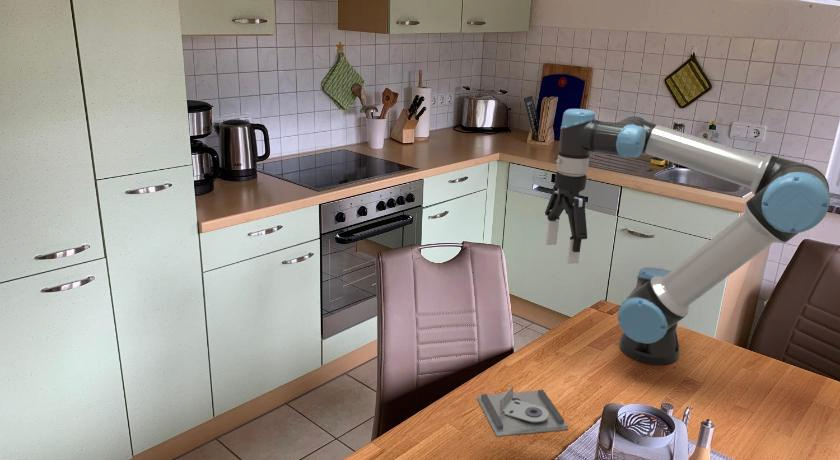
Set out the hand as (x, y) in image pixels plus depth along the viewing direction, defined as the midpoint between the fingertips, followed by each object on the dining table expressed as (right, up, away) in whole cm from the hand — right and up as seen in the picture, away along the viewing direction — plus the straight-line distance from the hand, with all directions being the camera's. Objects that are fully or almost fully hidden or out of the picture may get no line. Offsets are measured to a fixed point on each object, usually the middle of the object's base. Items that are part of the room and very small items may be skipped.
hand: (561, 253), depth 167 cm
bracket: (-13, -34, -23) cm, 44 cm away
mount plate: (-14, -35, -22) cm, 44 cm away
